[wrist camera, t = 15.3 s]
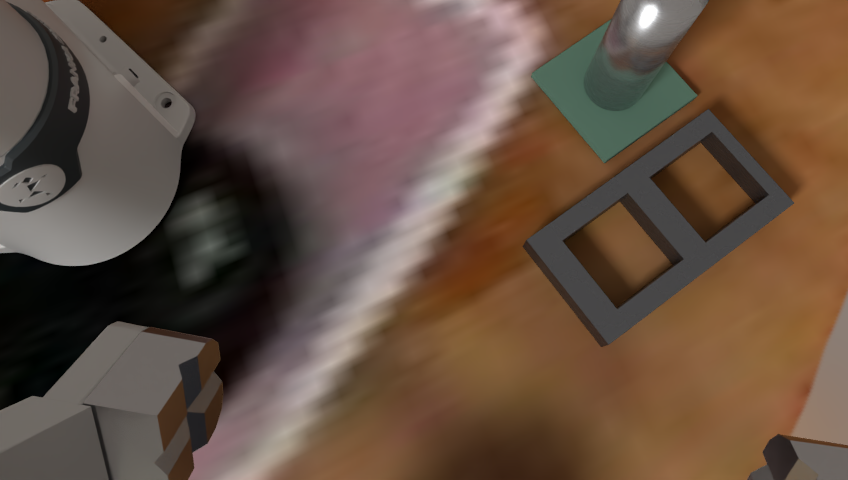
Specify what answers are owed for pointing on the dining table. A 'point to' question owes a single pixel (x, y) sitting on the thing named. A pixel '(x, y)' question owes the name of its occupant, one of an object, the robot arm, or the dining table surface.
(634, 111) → the mat
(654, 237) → the grey double frame
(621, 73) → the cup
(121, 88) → the robot arm
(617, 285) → the dining table surface
